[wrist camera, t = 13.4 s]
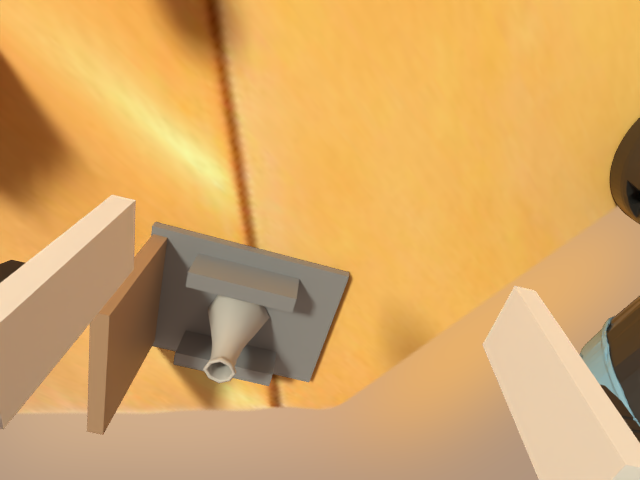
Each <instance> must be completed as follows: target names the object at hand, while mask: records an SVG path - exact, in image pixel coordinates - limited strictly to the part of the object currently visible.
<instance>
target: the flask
mask: <svg viewBox="0 0 640 480" xmlns="http://www.w3.org/2000/svg"><path fill="white" fill-rule="evenodd" d="M208 316H209V321H210V327H211V336H212V352H211V358H210V360H209V362H208V363H207V364H206V365H205V367H204V368H203V370H204V372H205V373H206V375H207V377H208V378H209V379H211V380H213V381H215V382H217V383H223V382H227V381H230V380H231V379H232V378H233V377H234V375H235V374H236V369H235V365H236V361H237V359H238V357H239V355H240V353H241V352H242V350H243V348H244V347H245V346H246V344H247V343H248V342H249V341H250V340H251V339H252V338H253V337H254V336H255V334H256V333H257V332H258V331H259V330H260V328H261V327H262V326H263V325H264V324H265V322H266V321H267V320H268V319H269V316H268V313H267V311H266V309H265V307H264V306H262V305H257V304H253V303H249V302H245V301H241V300H237V299H233V298H229V297H225V296H221V295H217V297H216V298H215V299H214V301H213V302H212V303H211V305H210V306H209V308H208Z"/></svg>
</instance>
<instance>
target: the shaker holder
mask: <svg viewBox="0 0 640 480" xmlns="http://www.w3.org/2000/svg"><path fill="white" fill-rule="evenodd" d="M348 278H349V272H346V271H342V270H339V269H335V268H331V267H327V266H323V265H319V264H316V263H312V262H308V261H304V260H300V259H296V258H292V257H289V256H285V255H281V254H277V253H273V252H269V251H266V250H262V249H258V248H254V247H250V246H246V245H243V244H239V243H235V242H231V241H227V240H223V239H219V238H216V237H212V236H208V235H204V234H200V233H196V232H193V231H189V230H185V229H181V228H177V227H173V226H169V225H166V224H162V223H158V222H155V223H154V225H153V226H152V234H151V237H150V239H149V240H148V241H147V242H146V244H145V245H144V246H143V247H142V248H141V250H140V251H139V252H138V253H137V255H136V256H135V257H134V270H133V271H132V272H131V273H130V275H129V276H128V277H127V278H126V280H125V281H124V282H123V283H122V285H121V286H120V287H119V288H118V289H117V291H116V292H115V293H114V294H113V296H112V297H111V298H110V299H109V300H108V302H107V303H106V304H105V305H104V307H103V308H102V309H101V310H100V312H99V313H98V314H97V315H96V316H95V318H94V319H93V320H92V321H91V323H90V338H89V376H88V416H87V417H88V418H87V431H88V432H93V433H97V434H102V435H103V434H104V432H105V430H106V428H107V426H108V425H109V423H110V421H111V419H112V417H113V416H114V414H115V412H116V410H117V408H118V407H119V405H120V403H121V401H122V399H123V398H124V396H125V394H126V392H127V390H128V388H129V387H130V385H131V383H132V381H133V379H134V378H135V376H136V374H137V372H138V370H139V368H140V367H141V365H142V363H143V361H144V359H145V358H146V356H147V354H148V352H149V350H150V348H151V347H152V346H155V347H159V348H163V349H168V350H172V351H176V352H175V357H174V365H179V366H183V367H187V368H192V369H196V370H201V371H204V370H203V368H204V367H205V365H206V364H207V363H208V362H209V360H210V358H211V352H212V336H211V327H210V321H209V316H208V308H209V306H210V305H211V303H212V302H213V301H214V299H215V298H216V297H217V295H221V296H225V297H229V298H233V299H237V300H241V301H245V302H249V303H253V304H257V305H262V306H264V307H265V309H266V311H267V313H268V316H269V319H268V320H267V321H266V322H265V324H264V325H263V326H262V327H261V328H260V330H259V331H258V332H257V333H256V334H255V336H254V337H253V338H252V339H251V340H250V341H249V342H248V343H247V344H246V346H245V347H244V348H243V350H242V352H241V353H240V355H239V357H238V359H237V361H236V365H235V369H236V374H235V375H234V377H233V378H236V379H240V380H244V381H249V382H253V383H258V384H262V385H266V386H269V384H270V381H271V378H272V375H273V374H276V375H280V376H284V377H289V378H293V379H297V380H302V381H306V382H309V381H310V379H311V376H312V373H313V371H314V368H315V366H316V363H317V360H318V358H319V355H320V352H321V350H322V347H323V344H324V342H325V339H326V336H327V334H328V331H329V329H330V326H331V323H332V321H333V318H334V315H335V313H336V310H337V307H338V305H339V302H340V300H341V297H342V294H343V292H344V289H345V286H346V284H347V281H348Z"/></svg>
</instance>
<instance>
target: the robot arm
mask: <svg viewBox="0 0 640 480" xmlns="http://www.w3.org/2000/svg"><path fill="white" fill-rule="evenodd" d="M610 186H611V191H612V195H613V197H614V200H615V202H616V203H617V205H618V207H619V208H620V209H621V210H622V211H623V212H624V213H625V214H626V215H627V216H629V217H630V218H632V219H633V220H634V221H636V222H637V223H639V224H640V118H639V119H638V120H637V121H636V122H635V123H634V124H633V126H632V127H631V128H630V129H629V131H628V132H627V133H626V135H625V136H624V138H623V140H622V141H621V143H620V145H619V147H618V149H617V151H616V154H615V156H614V159H613V163H612V167H611V173H610ZM134 241H135V200H133V199H128V198H124V197H119V196H115V195H111V196H110V197H109V198H107V199H106V200H105V201H103V202H102V203H101V204H100V205H98V206H97V207H96V208H95V209H93V210H92V211H91V212H90V213H88V214H87V215H86V216H85V217H83V218H82V219H81V220H79V221H78V222H77V223H76V224H74V225H73V226H72V227H71V228H69V229H68V230H67V231H66V232H64V233H63V234H62V235H60V236H59V237H58V238H57V239H55V240H54V241H53V242H52V243H50V244H49V245H48V246H47V247H45V248H44V249H43V250H42V251H40V252H39V253H38V254H36V255H35V256H34V257H33V258H31V259H30V260H29V261H28V262H26V263H24V262H19V261H15V260H10V261H7V262H5V263H2V264H0V429H4V428H5V427H6V426H7V424H8V423H9V422H10V421H11V420H12V418H13V417H14V416H15V415H16V413H17V412H18V411H19V410H20V409H21V407H22V406H23V405H24V404H25V402H26V401H27V400H28V399H29V397H30V396H31V395H32V394H33V393H34V391H35V390H36V389H37V388H38V386H39V385H40V384H41V383H42V381H43V380H44V379H45V378H46V377H47V375H48V374H49V373H50V372H51V370H52V369H53V368H54V367H55V366H56V364H57V363H58V362H59V361H60V359H61V358H62V357H63V356H64V354H65V353H66V352H67V351H68V350H69V348H70V347H71V346H72V345H73V343H74V342H75V341H76V340H77V339H78V337H79V336H80V335H81V334H82V332H83V331H84V330H85V329H86V327H87V326H88V325H89V324H90V323H91V321H92V320H93V319H94V318H95V316H96V315H97V314H98V313H99V312H100V310H101V309H102V308H103V307H104V305H105V304H106V303H107V302H108V300H109V299H110V298H111V297H112V296H113V294H114V293H115V292H116V291H117V289H118V288H119V287H120V286H121V285H122V283H123V282H124V281H125V280H126V278H127V277H128V276H129V275H130V273H131V272H132V271H133V270H134ZM483 347H484V349H485V352H486V354H487V356H488V359H489V361H490V364H491V366H492V369H493V371H494V374H495V376H496V378H497V381H498V383H499V385H500V388H501V390H502V393H503V395H504V398H505V400H506V402H507V404H508V407H509V409H510V412H511V414H512V417H513V419H514V422H515V424H516V426H517V429H518V431H519V434H520V436H521V438H522V441H523V443H524V446H525V448H526V451H527V453H528V455H529V457H530V460H531V462H532V465H533V467H534V470H535V472H536V475H537V477H538V479H539V480H640V296H639V297H638V298H637V299H635V300H634V301H633V302H632V303H630V305H628V306H627V307H626V308H624V309H623V310H622V311H621V312H620V313H618V314H617V315H616V316H614V317H612V318H609V319H608V320H607V321H606V322H605V324H604V326H603V328H602V329H601V330H600V331H599V332H598V333H597V334H596V335H595V336H594V337H593V338H592V339H591V340H590V341H589V342H588V343H587V344H586V345H585V346H584V347H583V348H582V351H581V353H580V355H579V354H578V352H577V351H576V349H575V348H574V346H573V345H572V343H571V342H570V340H569V339H568V338H567V336H566V335H565V333H564V332H563V330H562V329H561V327H560V326H559V324H558V323H557V322H556V320H555V319H554V317H553V316H552V314H551V313H550V311H549V310H548V308H547V307H546V305H545V304H544V302H543V301H542V300H541V298H540V297H539V296H538V294H537V292H536V291H535V290H530V289H526V288H521V287H517V286H514V288H513V290H512V292H511V293H510V295H509V297H508V299H507V301H506V303H505V305H504V306H503V308H502V310H501V312H500V314H499V315H498V317H497V319H496V321H495V323H494V325H493V326H492V328H491V330H490V332H489V334H488V336H487V338H486V339H485V341H484V343H483Z"/></svg>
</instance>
